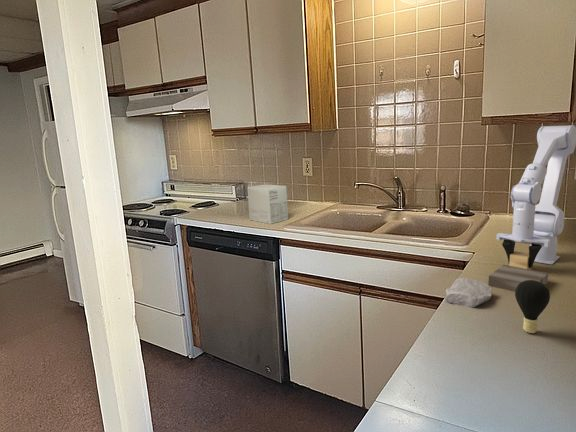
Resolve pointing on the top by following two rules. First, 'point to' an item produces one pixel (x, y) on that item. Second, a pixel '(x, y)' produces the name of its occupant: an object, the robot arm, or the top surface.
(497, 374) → the top surface
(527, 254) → the maple cube
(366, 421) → the top surface
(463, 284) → the stone block
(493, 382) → the top surface
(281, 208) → the supplement box
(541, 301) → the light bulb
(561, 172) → the robot arm
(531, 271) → the base block
